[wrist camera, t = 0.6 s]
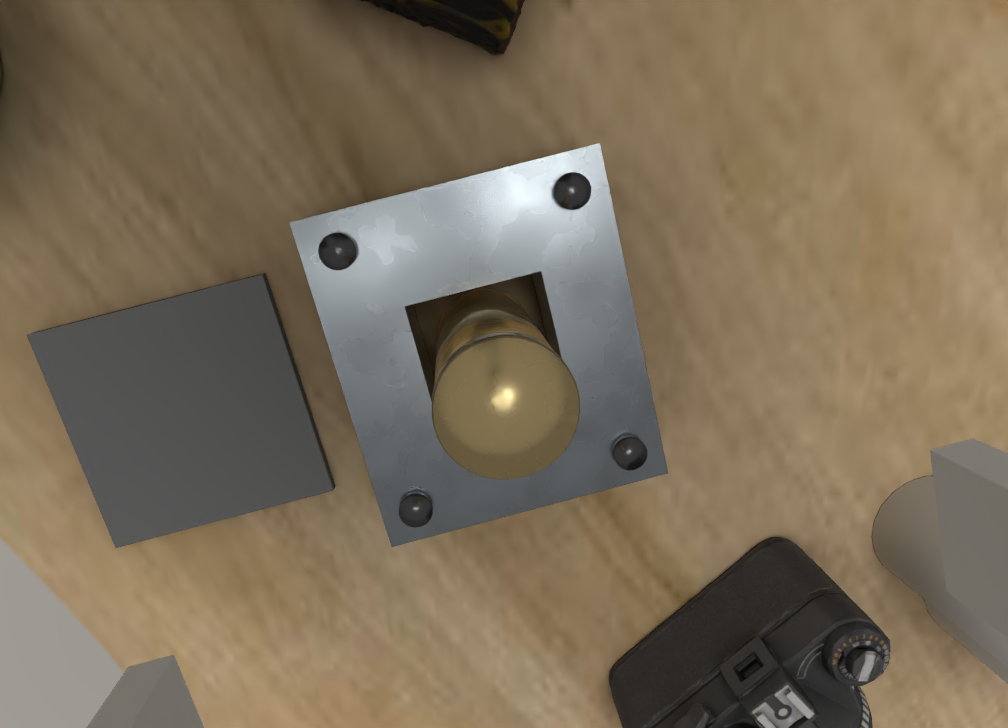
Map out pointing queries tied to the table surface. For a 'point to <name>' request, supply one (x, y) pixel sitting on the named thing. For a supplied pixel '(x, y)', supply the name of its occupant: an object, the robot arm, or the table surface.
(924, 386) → the table surface
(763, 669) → the camera
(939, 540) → the grey cylinder cluster
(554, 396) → the plug
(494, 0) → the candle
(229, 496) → the mat
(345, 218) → the housing
